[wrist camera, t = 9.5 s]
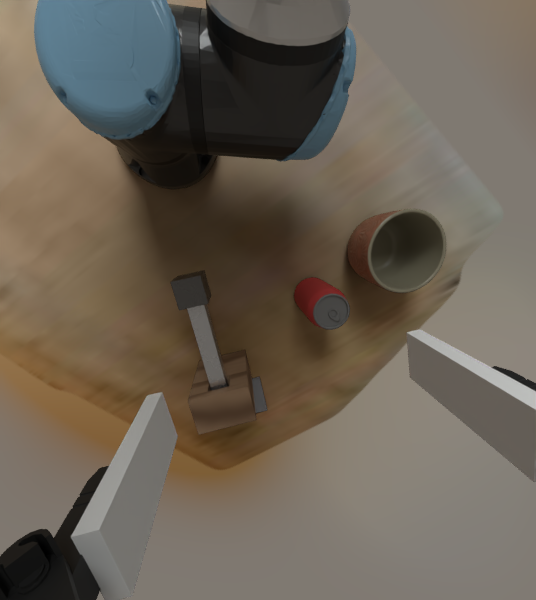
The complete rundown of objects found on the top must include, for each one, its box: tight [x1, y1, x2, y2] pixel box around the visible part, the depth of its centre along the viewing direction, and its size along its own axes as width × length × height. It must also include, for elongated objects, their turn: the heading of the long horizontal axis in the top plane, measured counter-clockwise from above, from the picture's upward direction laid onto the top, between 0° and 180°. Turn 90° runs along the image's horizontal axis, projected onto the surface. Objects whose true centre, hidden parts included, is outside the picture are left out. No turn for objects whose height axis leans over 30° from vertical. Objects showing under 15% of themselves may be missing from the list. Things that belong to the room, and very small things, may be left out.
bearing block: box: [188, 350, 256, 434], centre depth 47 cm, size 6×9×13 cm, turn 102°
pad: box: [252, 377, 267, 413], centre depth 55 cm, size 8×12×1 cm, turn 102°
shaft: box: [171, 270, 229, 390], centre depth 42 cm, size 23×4×5 cm, turn 12°
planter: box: [347, 209, 446, 293], centre depth 46 cm, size 12×12×11 cm
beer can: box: [294, 277, 350, 330], centre depth 46 cm, size 7×7×12 cm
